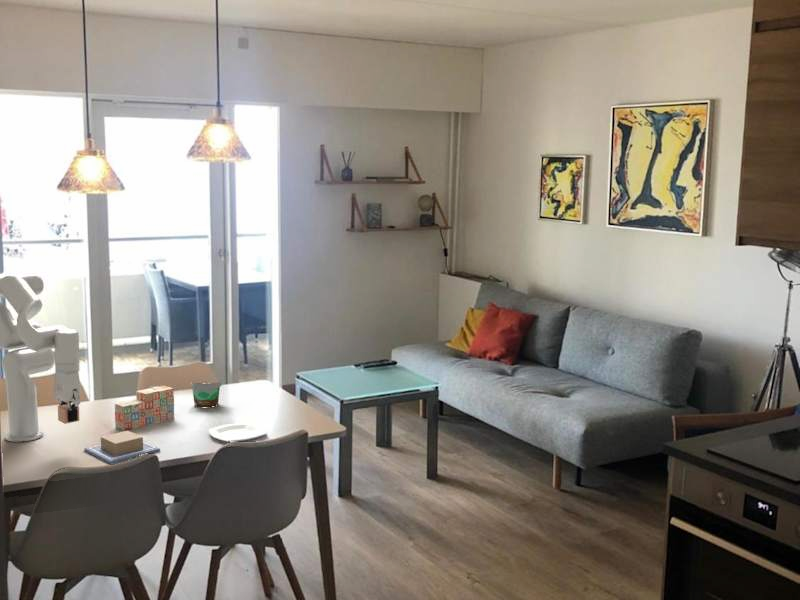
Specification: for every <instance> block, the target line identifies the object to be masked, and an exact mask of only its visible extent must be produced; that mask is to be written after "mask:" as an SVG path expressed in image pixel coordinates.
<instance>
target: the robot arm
mask: <svg viewBox="0 0 800 600" xmlns="http://www.w3.org/2000/svg"><path fill="white" fill-rule="evenodd" d="M44 287H45V284H44V281H43V278H42V277H41V276H40V275H39V274H38V273H36V272H34V271H27V272H26V271H25V272H22V271H21V272H17V271H16V272H6V273H0V299H3V298H5V299H6V300H7V302H8V303H9V305H11V306H12V308H13V310H14V311H15V312H16V313H17V317H16V320H15V319H14V317H13V315H12V313H11V311H10V309H9V308H8V307H7V306H6V305H5V304H3V303H2V302H0V349H1V350H3V351H7V350H9V351H8V352H6V353H5V354H4V355H3V357H2V359H1V366H2V371H3V375H4V378H5V379H4V380H5V386H6V397H7V414H8V415H7V416H8V432H6V433H5V434H4V440H6V441H8V442H12V443H13V442H14V443H22V442H23V441H24V442H30V441H35V440H37V439H40V438H42V437H43V436H44V430H42V429H40V428H39V414H38V413H39V412H38V397H37V396H38V394H37V386H36V384H35V382H34V381H33V380H32V378H31V377H30V376H31V375H32V376H33V375H35V374H39V373H44V372H47V371H50V370H51V369H52V368H53V367H55V372H54V383H53V384H54V386H53V388H54V389H53V391H54V393H53V394H54V397H55V398H56V399H58V406H60V405H65V404H68V408H69V410H67V411H68V422H72V421H76V422H78V421H77V420H78V412H77V409H78V406H79V405H80V404H81V401H80V399H81V381H80V374H79V372H80V370H81V369H80V368H81V367H80V334H79V332H78V331H77V330H76V329H69V328H68V327H66V326H64V325H60V324H59V325H52V326H51V325H50V326H45V327H41V326H40V325H39V323H38V322H36V321H34V320H32V319H33V318H34V317H36V316H37V315H38V314H39V313H40V312H41V310H42V308H43V302H42V301H41V299H40V298H39V296H38V295H40V294H42V293H43V291H44ZM52 349H54V353H53V350H52ZM10 350H11V351H10ZM71 403H73V404H72V405H71ZM72 423H73V422H72Z"/></svg>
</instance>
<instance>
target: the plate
mask: <svg viewBox="0 0 800 600" xmlns="http://www.w3.org/2000/svg"><path fill="white" fill-rule="evenodd" d="M208 433H209V435H210V436H211V437H212V438H214V439H216V440H218V441H219V440H220V441H223V442H225V441H226V443H228V442H230V441H241V442H246V440H247V441H251V440H255V439H258V438H260V437H262V436H265V435H267V434H268V432H267V431H266V430H265V428H264V427H262V426H260V425H259V424H256V423H255V424H254V423H251V422H236V423H229V424H223V425H222V424H221V425H219V426H215V427H211V428H208Z"/></svg>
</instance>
